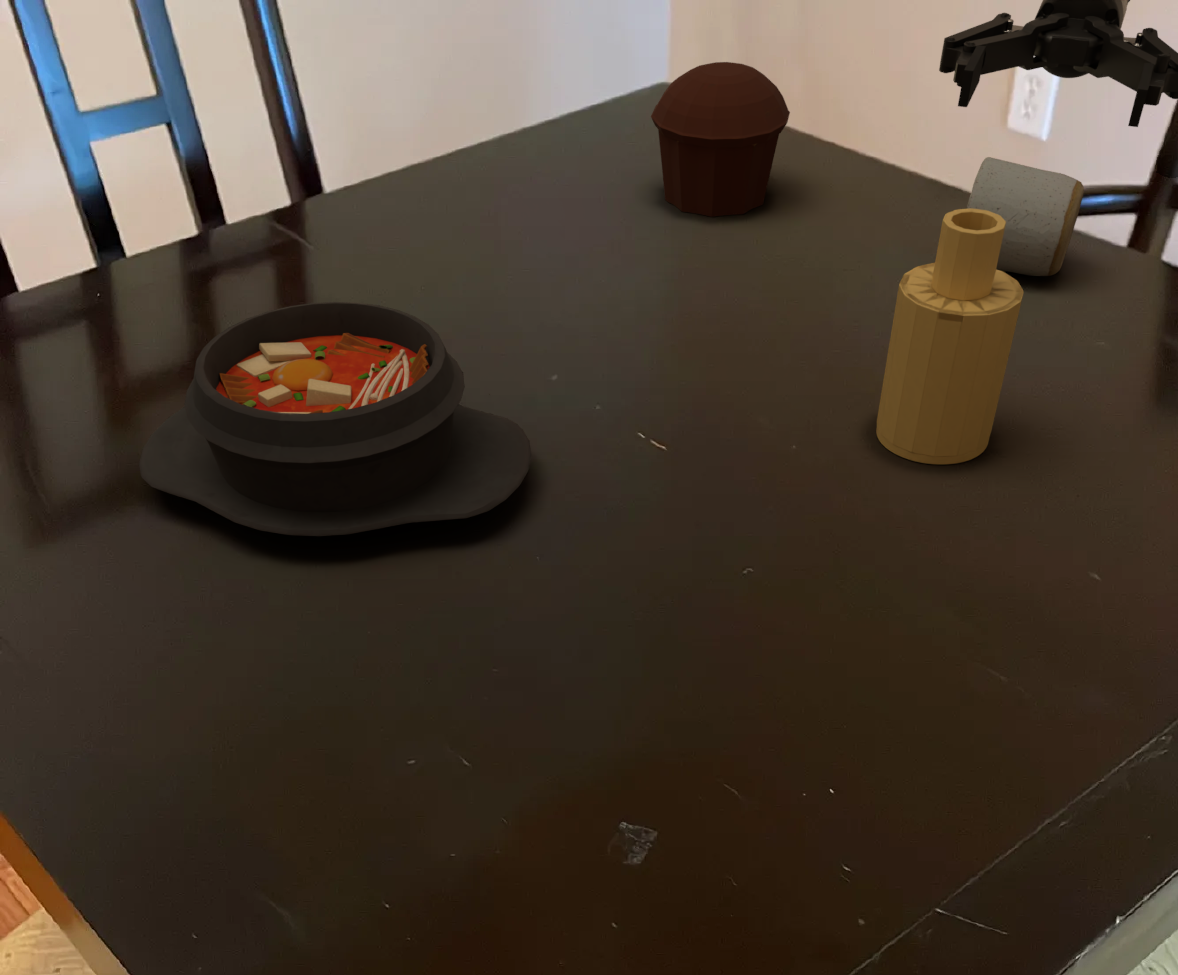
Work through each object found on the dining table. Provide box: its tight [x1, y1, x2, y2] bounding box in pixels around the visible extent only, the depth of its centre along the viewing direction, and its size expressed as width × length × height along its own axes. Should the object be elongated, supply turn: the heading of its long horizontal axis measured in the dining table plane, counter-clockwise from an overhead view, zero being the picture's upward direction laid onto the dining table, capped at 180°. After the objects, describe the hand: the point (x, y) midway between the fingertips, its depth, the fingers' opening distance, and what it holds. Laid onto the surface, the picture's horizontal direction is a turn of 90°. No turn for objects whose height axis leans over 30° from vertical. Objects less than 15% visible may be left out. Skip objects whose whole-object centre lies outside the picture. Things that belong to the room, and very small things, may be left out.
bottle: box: [875, 208, 1024, 465], centre depth 84 cm, size 7×7×14 cm
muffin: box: [650, 61, 791, 218], centre depth 114 cm, size 12×11×10 cm
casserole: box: [138, 301, 532, 537], centre depth 83 cm, size 25×19×8 cm
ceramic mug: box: [966, 156, 1085, 277], centre depth 105 cm, size 11×8×8 cm
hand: (1050, 98), depth 108 cm, fingers open, 13 cm apart
